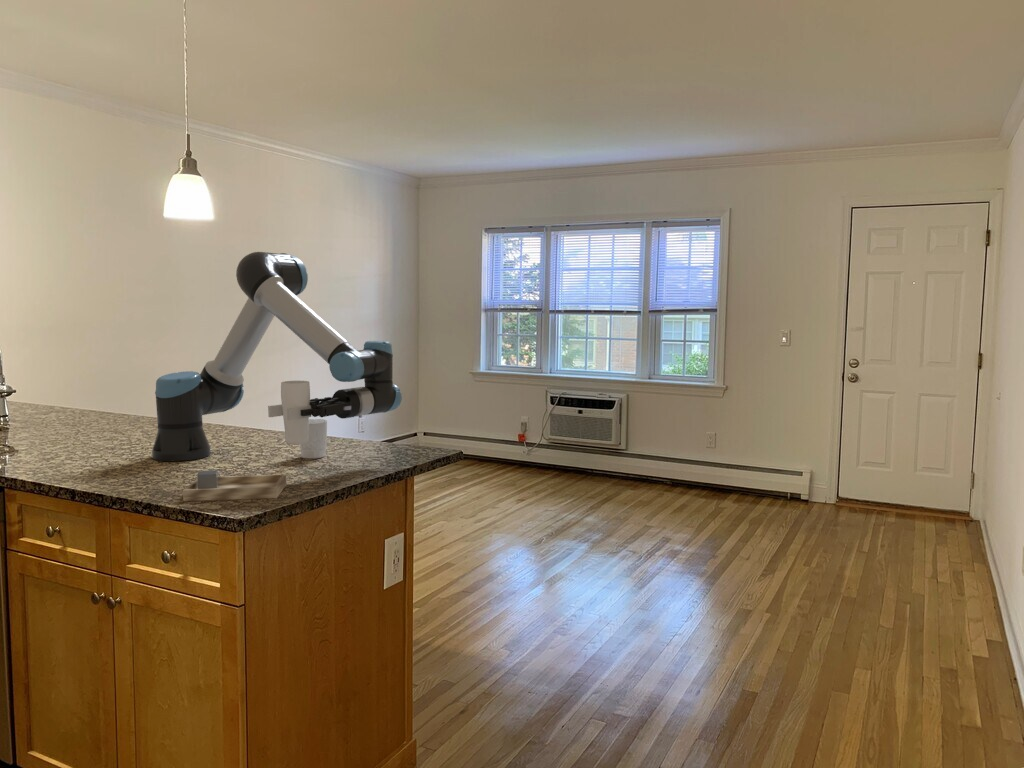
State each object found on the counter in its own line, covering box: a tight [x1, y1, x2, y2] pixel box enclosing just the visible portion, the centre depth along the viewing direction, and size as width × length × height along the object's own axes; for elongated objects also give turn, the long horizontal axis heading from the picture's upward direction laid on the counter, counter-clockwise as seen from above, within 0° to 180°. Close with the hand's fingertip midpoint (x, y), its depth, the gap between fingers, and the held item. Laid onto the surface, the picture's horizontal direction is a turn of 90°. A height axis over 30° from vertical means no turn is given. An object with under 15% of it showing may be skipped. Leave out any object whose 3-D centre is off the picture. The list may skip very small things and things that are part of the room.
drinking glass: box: [280, 380, 311, 446], centre depth 193 cm, size 7×7×15 cm
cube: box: [196, 469, 219, 489], centre depth 181 cm, size 4×4×4 cm
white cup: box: [299, 418, 328, 459], centre depth 223 cm, size 8×8×10 cm
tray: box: [182, 474, 288, 502], centre depth 182 cm, size 20×13×2 cm, turn 97°
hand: (278, 412), depth 189 cm, fingers closed on drinking glass, 6 cm apart
